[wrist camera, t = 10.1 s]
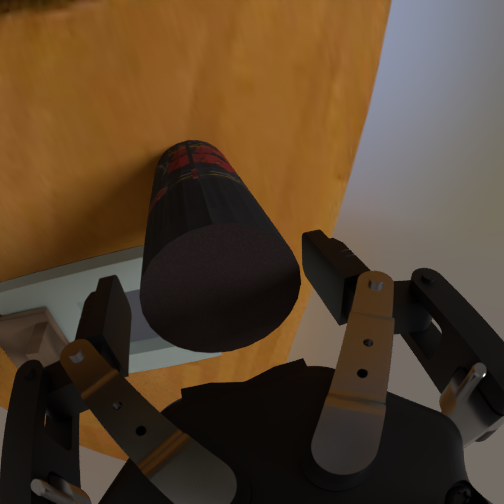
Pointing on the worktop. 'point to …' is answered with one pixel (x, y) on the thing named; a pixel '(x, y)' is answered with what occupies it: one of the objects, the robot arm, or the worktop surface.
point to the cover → (32, 337)
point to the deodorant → (212, 256)
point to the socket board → (75, 293)
